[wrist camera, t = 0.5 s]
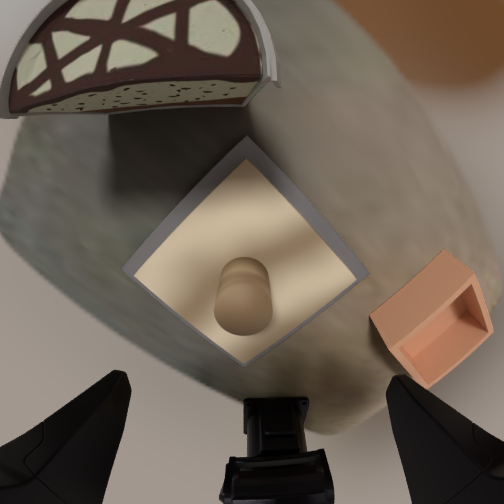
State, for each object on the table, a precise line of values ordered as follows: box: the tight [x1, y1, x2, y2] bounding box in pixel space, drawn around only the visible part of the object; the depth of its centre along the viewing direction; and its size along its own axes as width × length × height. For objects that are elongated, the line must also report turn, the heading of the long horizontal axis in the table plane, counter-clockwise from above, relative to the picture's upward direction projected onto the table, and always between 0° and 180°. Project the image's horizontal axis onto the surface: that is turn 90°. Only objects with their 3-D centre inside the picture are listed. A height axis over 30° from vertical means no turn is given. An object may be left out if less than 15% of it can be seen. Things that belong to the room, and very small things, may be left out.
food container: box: [0, 0, 282, 119], centre depth 11 cm, size 12×6×10 cm, turn 88°
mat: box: [122, 136, 370, 368], centre depth 21 cm, size 13×13×1 cm
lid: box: [134, 158, 357, 364], centre depth 18 cm, size 11×11×5 cm
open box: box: [369, 250, 494, 389], centre depth 21 cm, size 8×8×4 cm
